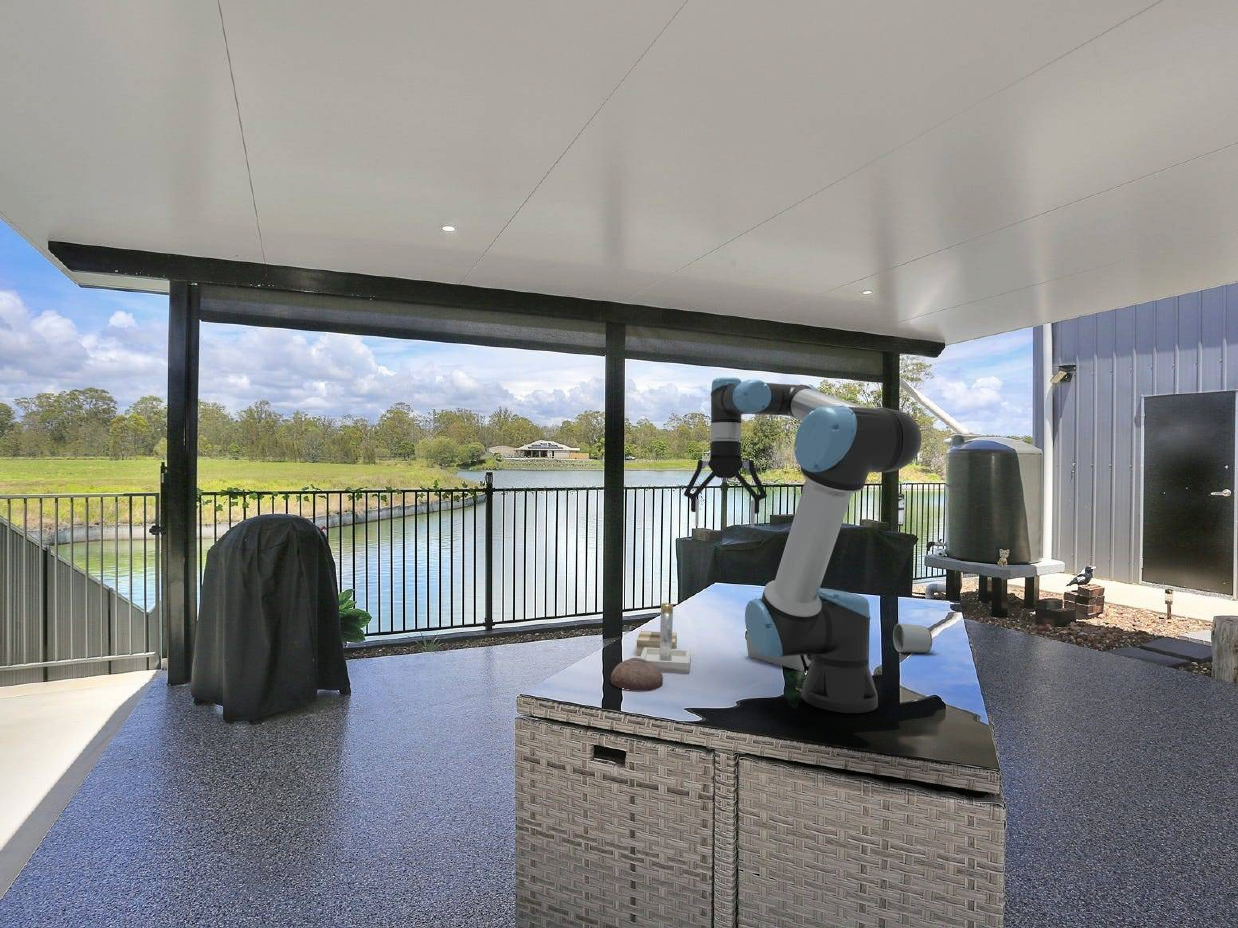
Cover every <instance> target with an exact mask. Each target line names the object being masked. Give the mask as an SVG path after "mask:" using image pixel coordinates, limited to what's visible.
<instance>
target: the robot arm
mask: <svg viewBox="0 0 1238 928" xmlns="http://www.w3.org/2000/svg"><path fill="white" fill-rule="evenodd" d="M742 415H762V416H765V415H766V416H785V417H791V418H794V419H796V420H798V421H801V422H800V424H799V426H798V427H797V430H796V434H795V438H794V447H795V448H796V449H795V450H794V455H795V459H796V461H797V463H798V465H799V466H800V468H799V469H800V470H799V471H800V473H801V475H802V476H803V478H804V479H805V481H804V484H803V488H802V491H801V494H800V497H799V501H798V503H797V507H796V511H795V514H794V517H793V520H792V523H791V527H790V530H789V532H788V533H789V534H788V537H787V540H786V543H785V546H784V550H783V553H782V557H781V558H780V559H781V560H780V562H779V566H778V569H777V573H776V576H775V579H774V580H772V581H769V582H767V584H765V586H764V589H763V592H762V595H761V598H754V599H752V600H749V601H748V602H747V604H746V607H745V610H744V611H745V612H744V623H745V629H746V634H747V633H748V637H749V639H750V642H751V644H752V646H753V647H754V649H755V650H756V651H757V652H758V653H759V654H760V655H762V656H764V657H777V658H780V657H786V656H797V655H811V657H810V659H811V660H810V661H811V664H810V667H808V670H807V673H806V674H805V679H804V680H803V683H802V690H801V691H802V692H801V693H802V694H801V696H802V699H803V700H804V701H805V702H806V703H807V704H809V705H811V706H812V707H813V706H814V707H815V708H819V709H821V710H826V711H830V712H834V713H836V712H837V713H844V714H845V713H846V714H863V713H869V712H872V711H874V710H876V709H877V708H878V705H879V704H878V703H879V702H878V701H879V700H878V697H879V696H878V691H877V689H876V685H875V682H874V680H873V676H872V673H871V669H870V625H871V623H870V622H871V618H872V617H871V614H870V613H871V612H870V602H869V601H868V599H867V598H866V597H865V596H862V595H860V594H856V593H852V592H847V591H843V590H838V589H837V590H836V589H831V588H824V587H823V588H821V585H822V583H823V580H824V577H825V574H826V571H827V568H828V566H829V562H830V559H831V557H832V553H833V551H834V548H835V545H836V542H837V539H838V536H839V533H840V530H841V527H842V524H843V522H844V519H845V516H846V513H847V510H848V507H849V504H850V501H851V498H852V496H853V494H855V493H859V492H860V491H862V490H864V488H865V485H866V482H867V480H868V477H869V474H870V473H891V472H894V471H898V470H902V469H903V468H905V467H907V466H908V465H909V464H911V463H912V462H913V460H914V459H915V458H916V457H917V455H918V453H919V452H920V450H921V447H922V440H923V439H922V432H921V431H922V430H921V429H920V426H919V425H918V423H917V421H916V420H915V419H914V418H913V416H910V415H909V414H907V413H906V412H905V411H902V410H897V409H892V408H889V407H882V406H880V407H867V406H863V405H861V404H859V403H854V402H852V401H849V400H846V399H842V398H839V397H836V396H833V395H830V394H827V393H824V392H820V391H818V388H817V387H815V386H812V385H807V384H788V383H787V384H786V383H774V382H773V383H772V382H764V381H763V380H760V379H746V380H743V381H742V379H740V378H738V377H729V376H727V377H716V378H714V379H713V380H712V382H711V390H710V439H711V440H712V441H711V442H710V449H709V450H710V452H709V453H710V454H709V455H710V456H709V457H710V458H709V460H702V459H698V460H697V466H696V469H695V471H694V474H692V477H691V479H690V481H689V483H688V484H687V487H686V489H685V490H684V493H683V496H684V497H687V498H688V499H690V511H691V513H695V516H694V517H695V519H694V520H695V521H694V522H695V527H699V523H700V522H699V521H700V519H699V513H700V512H699V510H700V509H699V507H700V499H699V498H698V496H700V494H701V493H702V492H703V490H704V489H705V488H706V487H707V486H708V485H709V484H710V483H711V482H712V480H713V479H714V478H716V477H717V478H718V479H725V478H726V479H732V478H733V479H734V478H736V479H737V480H738V482H739V483H740V484H741V485H742V486H743V487H744V489H745V490H746V491H747V493H748V494H749V495H750V496H751V497H752V498H753V499H752V500H750V528H755V514H757V515H758V514H759V513H760V501H761V500H763V499H767V498H768V494H767V492H766V490H765V488H764V486H763V484H762V481H761V480H760V478H759V476H758V473H757V472H756V469H755V462H754V461H753V460H747V461H743V460H742V443H741V441H740V440H741V439H742ZM707 466H708V467H709V468H710V470H711V473H710V474H709V475H708V476H707V477H706V479H704V481H703V482H702V483H701V484H700V485H699V486H698V487H697V489H695V491H693V493H692V492H691V491H692V489H693V487H694V486H695V484H696V483H697V480H698V478H699V476H700V474H701V473H702V470H705V469H706V467H707ZM743 467H745V469H746V470H747V471H748V470H749V473H750V476H751V478H752V481H754V484H755V486H756V488H757V490H758V492H759V494H757V493H756V491H755V490H754V489H753V488H752V486H751V485H750V484H749V483H748V482H747V480H746V479H745V478H744V477H743V476H742V474H741V473H740V470H741V469H742V468H743ZM697 498H698V499H697Z"/></svg>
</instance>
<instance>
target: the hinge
mask: <svg viewBox="0 0 1238 928" xmlns="http://www.w3.org/2000/svg"><path fill="white" fill-rule="evenodd" d="M745 638H746V639H745V640H746V649H747V656H748V657H750V658H753V659H757V660H761V661H765V662H767V663H771V664H775V665H779V666H782V667H785V668H789V669H792V668H793V670H797V671H800V672H803V671H804V670H805V667H808V668H809V667H810V664H811V660H810V659H808V656H807V655H797V656H786V657H780V658H777V657H764V656H762V655H760V654H759V653H758V652H757V651H756V650H755V649H754V647H753V646H752V644H751V642H750V639H749V637H748V633H747V632H746V635H745Z"/></svg>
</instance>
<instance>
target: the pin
mask: <svg viewBox="0 0 1238 928" xmlns="http://www.w3.org/2000/svg"><path fill="white" fill-rule="evenodd" d="M673 614H674V604H673V603H668V602H667V603H666V602H663V603H661V604H660V625H659V626H660V627H659V628H660V629H659V630H660V631H659V632H660V657H659V660H662V661H671V660H672V633H673V623H674V622H673V621H674V620H673V619H674V617H673V616H674V615H673Z"/></svg>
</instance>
